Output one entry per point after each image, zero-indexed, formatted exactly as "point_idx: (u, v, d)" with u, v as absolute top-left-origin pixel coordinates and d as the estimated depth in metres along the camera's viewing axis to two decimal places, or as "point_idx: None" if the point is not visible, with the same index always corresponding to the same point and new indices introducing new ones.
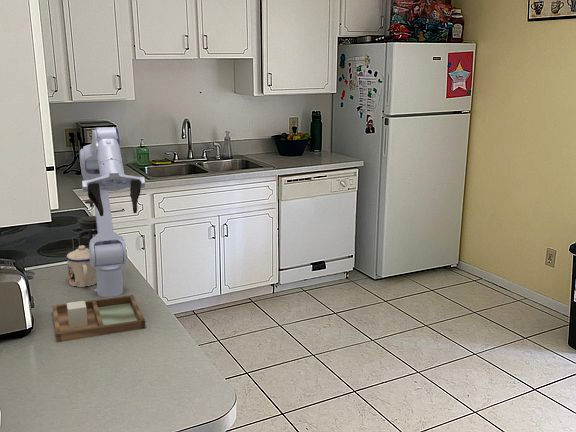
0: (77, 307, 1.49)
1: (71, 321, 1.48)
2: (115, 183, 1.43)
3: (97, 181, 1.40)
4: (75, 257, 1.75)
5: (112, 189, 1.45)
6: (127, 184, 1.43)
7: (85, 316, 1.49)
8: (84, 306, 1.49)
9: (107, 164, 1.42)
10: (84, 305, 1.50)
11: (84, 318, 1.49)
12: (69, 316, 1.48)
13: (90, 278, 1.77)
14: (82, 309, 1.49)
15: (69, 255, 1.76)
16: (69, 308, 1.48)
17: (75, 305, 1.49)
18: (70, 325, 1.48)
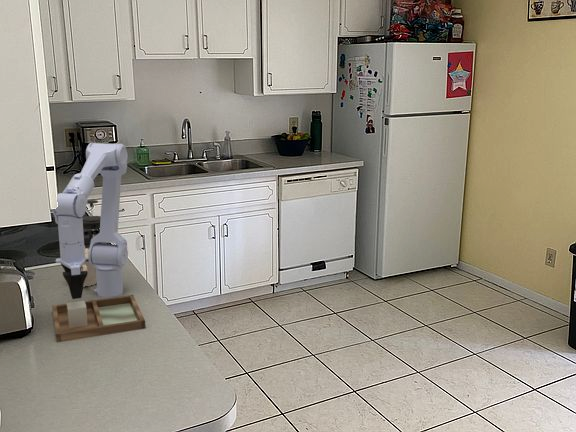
0: (77, 307, 1.49)
1: (71, 321, 1.48)
2: None
3: None
4: None
5: None
6: None
7: (85, 316, 1.49)
8: (84, 306, 1.49)
9: None
10: (84, 305, 1.50)
11: (84, 318, 1.49)
12: (69, 316, 1.48)
13: (90, 278, 1.77)
14: (82, 309, 1.49)
15: None
16: (69, 308, 1.48)
17: (75, 305, 1.49)
18: (70, 325, 1.48)
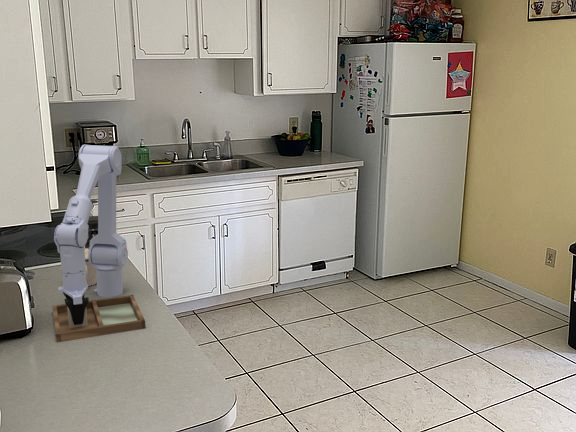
0: None
1: (71, 321, 1.48)
2: None
3: None
4: None
5: None
6: None
7: (85, 316, 1.49)
8: None
9: None
10: None
11: (84, 318, 1.49)
12: (69, 316, 1.48)
13: (90, 278, 1.77)
14: None
15: None
16: None
17: None
18: (70, 325, 1.48)
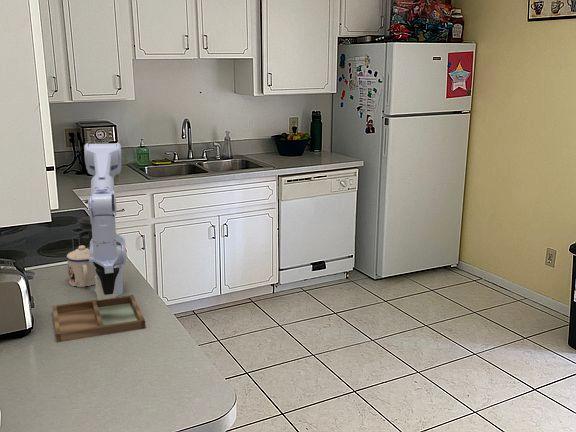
0: None
1: (99, 293, 1.49)
2: None
3: None
4: (75, 257, 1.75)
5: None
6: None
7: None
8: None
9: None
10: None
11: None
12: (98, 288, 1.49)
13: (90, 278, 1.77)
14: None
15: (69, 255, 1.76)
16: (97, 280, 1.49)
17: None
18: (99, 297, 1.50)
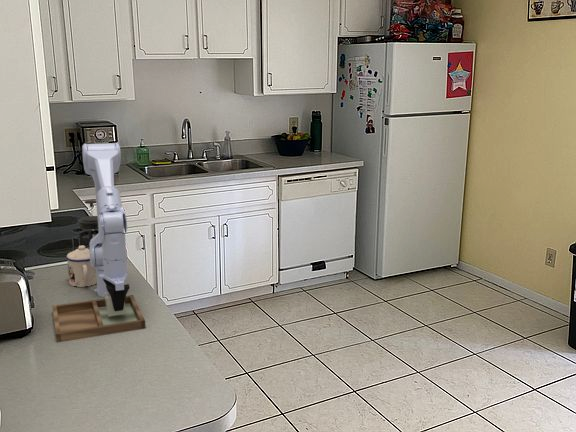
0: None
1: (110, 310, 1.51)
2: None
3: None
4: (75, 257, 1.75)
5: None
6: None
7: None
8: None
9: None
10: None
11: None
12: (108, 305, 1.51)
13: (90, 278, 1.77)
14: None
15: (69, 255, 1.76)
16: (108, 297, 1.51)
17: None
18: (109, 314, 1.52)
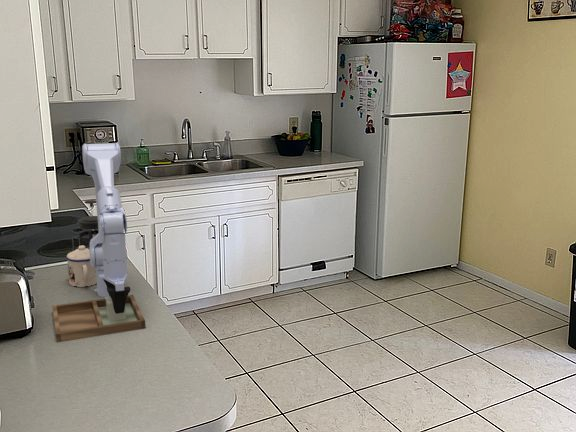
0: None
1: (110, 315, 1.52)
2: None
3: None
4: (75, 257, 1.75)
5: None
6: None
7: (124, 310, 1.53)
8: None
9: None
10: None
11: None
12: (109, 310, 1.51)
13: (90, 278, 1.77)
14: None
15: (69, 255, 1.76)
16: (109, 302, 1.52)
17: None
18: (109, 318, 1.52)
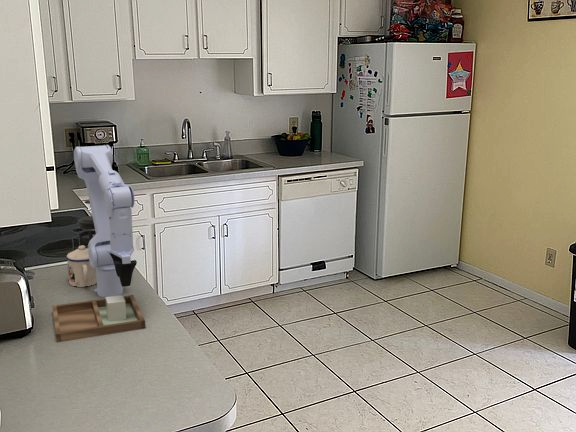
0: (117, 301, 1.52)
1: (110, 315, 1.52)
2: None
3: None
4: (75, 257, 1.75)
5: None
6: None
7: (124, 310, 1.53)
8: (123, 300, 1.53)
9: None
10: (123, 299, 1.54)
11: (123, 312, 1.53)
12: (109, 310, 1.51)
13: (90, 278, 1.77)
14: (121, 303, 1.52)
15: (69, 255, 1.76)
16: (109, 302, 1.52)
17: (114, 299, 1.53)
18: (109, 318, 1.52)
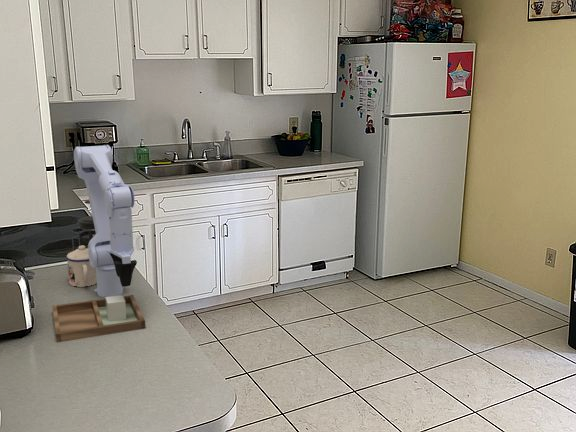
0: (117, 301, 1.52)
1: (110, 315, 1.52)
2: None
3: None
4: (75, 257, 1.75)
5: None
6: None
7: (124, 310, 1.53)
8: (123, 300, 1.53)
9: None
10: (123, 299, 1.54)
11: (123, 312, 1.53)
12: (109, 310, 1.51)
13: (90, 278, 1.77)
14: (121, 303, 1.52)
15: (69, 255, 1.76)
16: (109, 302, 1.52)
17: (114, 299, 1.53)
18: (109, 318, 1.52)
